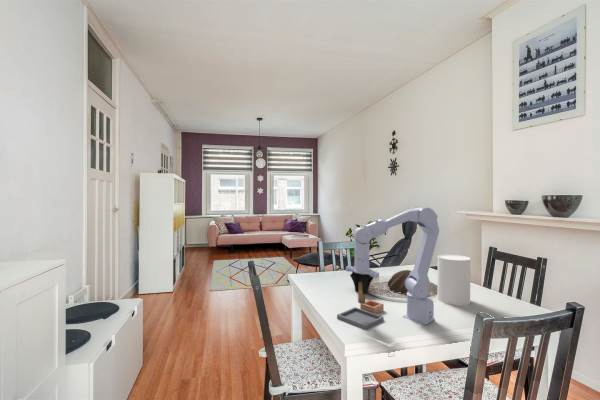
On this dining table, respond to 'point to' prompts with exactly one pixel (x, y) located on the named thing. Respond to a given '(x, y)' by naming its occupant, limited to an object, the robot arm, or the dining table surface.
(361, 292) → the oak peg
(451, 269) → the canister
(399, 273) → the decorative dome
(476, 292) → the dining table surface
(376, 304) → the terracotta square socket
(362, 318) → the slate tray
